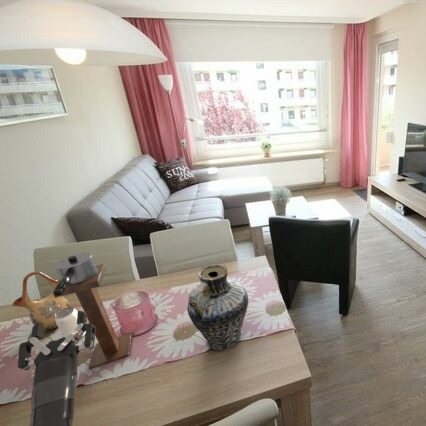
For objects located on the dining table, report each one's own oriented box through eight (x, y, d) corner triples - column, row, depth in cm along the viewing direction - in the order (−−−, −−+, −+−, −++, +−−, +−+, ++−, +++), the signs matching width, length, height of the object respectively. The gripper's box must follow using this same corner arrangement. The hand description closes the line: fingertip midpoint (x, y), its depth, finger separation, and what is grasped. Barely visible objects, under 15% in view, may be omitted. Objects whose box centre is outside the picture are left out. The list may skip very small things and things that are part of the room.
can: (83, 328, 115) (72, 304, 110) (90, 335, 111) (78, 310, 107) (63, 339, 110) (50, 314, 105) (69, 346, 107) (56, 321, 102)
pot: (42, 313, 76) (30, 291, 73) (67, 273, 93) (58, 254, 90) (84, 302, 79) (74, 281, 76) (100, 265, 96) (93, 247, 94)
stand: (91, 370, 97) (52, 292, 84) (98, 346, 106) (63, 273, 93) (129, 357, 101) (97, 281, 88) (132, 335, 110) (104, 263, 98)
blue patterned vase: (217, 317, 117) (201, 252, 105) (262, 323, 113) (251, 256, 101) (185, 361, 98) (162, 288, 87) (238, 369, 94) (221, 295, 83)
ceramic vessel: (75, 308, 126) (51, 259, 116) (86, 314, 122) (62, 264, 112) (26, 335, 113) (-5, 282, 103) (37, 343, 109) (6, 288, 99)
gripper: (25, 400, 66) (33, 331, 75) (99, 374, 72) (99, 313, 80) (3, 395, 61) (15, 321, 69) (86, 367, 66) (88, 302, 75)
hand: (60, 317), depth 75 cm, fingers open, 8 cm apart
